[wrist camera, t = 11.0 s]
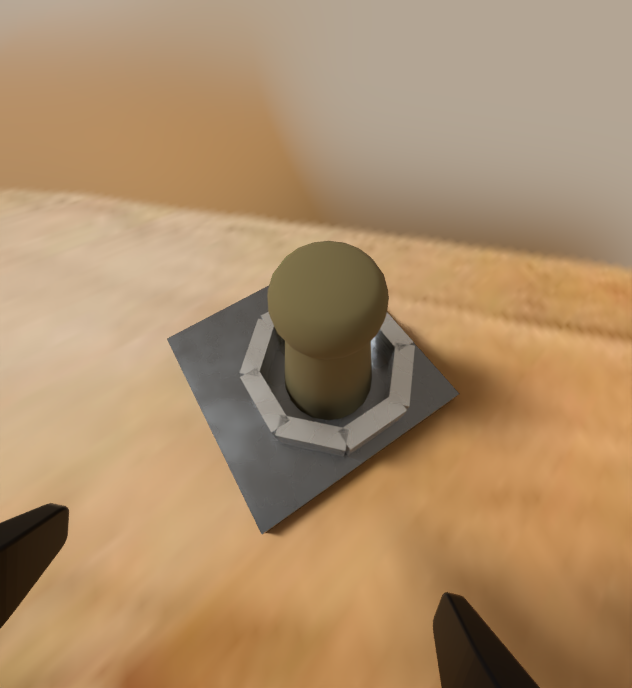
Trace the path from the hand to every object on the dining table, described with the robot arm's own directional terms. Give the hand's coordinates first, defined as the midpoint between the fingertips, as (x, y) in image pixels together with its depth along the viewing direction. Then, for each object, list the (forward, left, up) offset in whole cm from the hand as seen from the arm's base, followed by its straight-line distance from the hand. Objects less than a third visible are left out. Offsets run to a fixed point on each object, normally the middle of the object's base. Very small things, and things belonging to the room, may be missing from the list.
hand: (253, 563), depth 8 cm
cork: (+7, -7, -12) cm, 15 cm away
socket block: (+8, -6, -13) cm, 17 cm away
